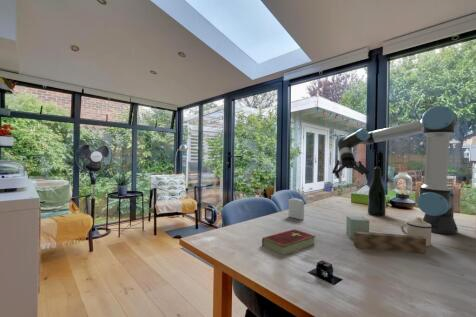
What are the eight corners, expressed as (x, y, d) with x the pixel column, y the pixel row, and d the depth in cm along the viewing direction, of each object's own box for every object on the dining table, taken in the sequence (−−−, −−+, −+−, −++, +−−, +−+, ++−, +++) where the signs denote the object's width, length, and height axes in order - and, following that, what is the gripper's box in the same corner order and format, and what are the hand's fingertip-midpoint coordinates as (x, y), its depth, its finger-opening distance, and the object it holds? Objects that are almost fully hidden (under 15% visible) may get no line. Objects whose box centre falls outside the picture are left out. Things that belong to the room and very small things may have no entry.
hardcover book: (261, 246, 98) (262, 236, 98) (293, 237, 110) (293, 228, 110) (283, 256, 88) (283, 245, 88) (315, 244, 101) (315, 235, 101)
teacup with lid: (435, 245, 102) (436, 219, 102) (424, 248, 98) (425, 221, 98) (406, 236, 113) (406, 213, 113) (395, 239, 109) (395, 214, 109)
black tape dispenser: (301, 272, 76) (301, 259, 76) (314, 266, 80) (314, 253, 80) (337, 290, 66) (337, 274, 66) (349, 282, 71) (349, 267, 71)
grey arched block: (287, 216, 147) (287, 197, 147) (291, 215, 150) (291, 197, 150) (300, 220, 139) (301, 200, 139) (304, 219, 142) (305, 199, 142)
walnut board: (421, 250, 95) (421, 236, 95) (425, 253, 92) (426, 238, 92) (353, 244, 100) (354, 231, 100) (355, 247, 98) (356, 233, 98)
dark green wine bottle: (368, 212, 165) (369, 166, 165) (385, 214, 159) (386, 167, 159) (366, 214, 156) (367, 166, 156) (384, 217, 150) (386, 167, 150)
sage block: (363, 234, 115) (363, 216, 115) (368, 239, 107) (369, 220, 107) (346, 232, 117) (346, 215, 117) (350, 238, 109) (351, 219, 109)
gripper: (366, 161, 144) (374, 188, 130) (324, 159, 149) (328, 185, 134) (370, 152, 139) (379, 180, 125) (327, 151, 143) (331, 177, 129)
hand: (353, 183), depth 129 cm, fingers open, 13 cm apart
